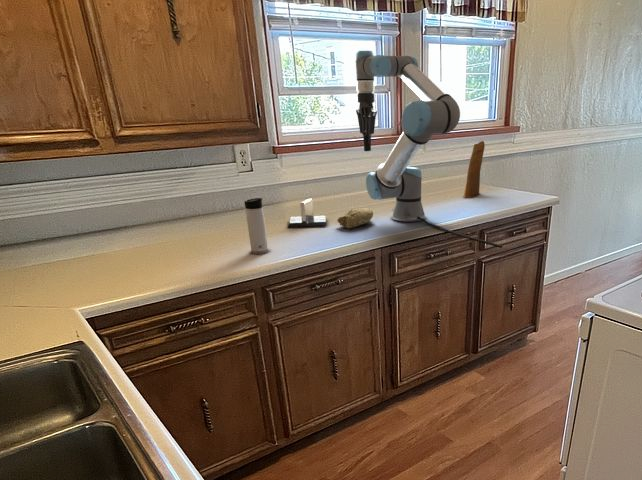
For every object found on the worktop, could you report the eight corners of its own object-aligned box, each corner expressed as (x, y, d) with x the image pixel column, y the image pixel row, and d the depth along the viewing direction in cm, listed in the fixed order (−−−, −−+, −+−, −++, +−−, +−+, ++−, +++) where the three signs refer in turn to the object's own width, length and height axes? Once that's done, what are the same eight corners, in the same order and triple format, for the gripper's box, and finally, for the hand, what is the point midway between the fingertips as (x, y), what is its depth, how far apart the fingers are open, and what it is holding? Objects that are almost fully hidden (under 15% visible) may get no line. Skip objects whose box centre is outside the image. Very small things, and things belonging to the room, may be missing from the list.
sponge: (353, 233, 225) (384, 216, 236) (347, 216, 222) (379, 199, 232) (335, 233, 234) (365, 216, 245) (329, 217, 231) (360, 200, 241)
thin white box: (309, 216, 240) (308, 198, 236) (313, 216, 239) (312, 198, 235) (301, 221, 231) (299, 202, 227) (305, 221, 231) (304, 202, 227)
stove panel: (325, 219, 243) (325, 214, 242) (326, 226, 231) (325, 222, 230) (291, 220, 241) (290, 215, 240) (289, 228, 229) (289, 223, 228)
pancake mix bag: (485, 193, 297) (489, 140, 283) (471, 199, 282) (474, 144, 269) (474, 192, 300) (477, 140, 286) (459, 198, 285) (462, 143, 272)
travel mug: (264, 254, 195) (257, 200, 185) (248, 253, 196) (240, 199, 186) (271, 249, 200) (265, 196, 191) (255, 248, 201) (248, 196, 192)
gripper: (381, 92, 220) (382, 151, 232) (364, 91, 229) (366, 148, 241) (367, 92, 216) (369, 153, 228) (350, 92, 225) (352, 150, 237)
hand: (367, 150), depth 234 cm, fingers closed
